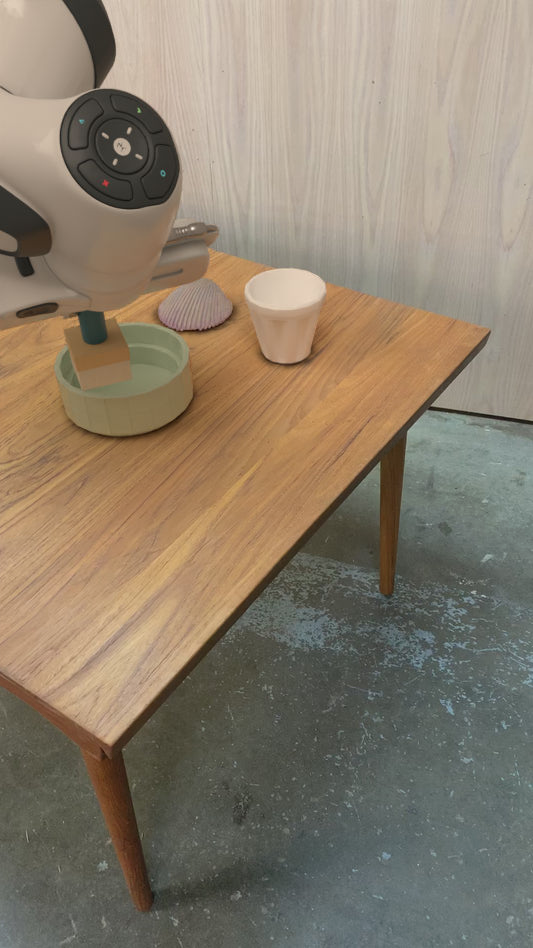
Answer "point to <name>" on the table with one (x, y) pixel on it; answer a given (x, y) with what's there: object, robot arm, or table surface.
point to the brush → (98, 351)
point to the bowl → (133, 385)
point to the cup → (285, 312)
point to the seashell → (195, 306)
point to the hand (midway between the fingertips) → (87, 305)
